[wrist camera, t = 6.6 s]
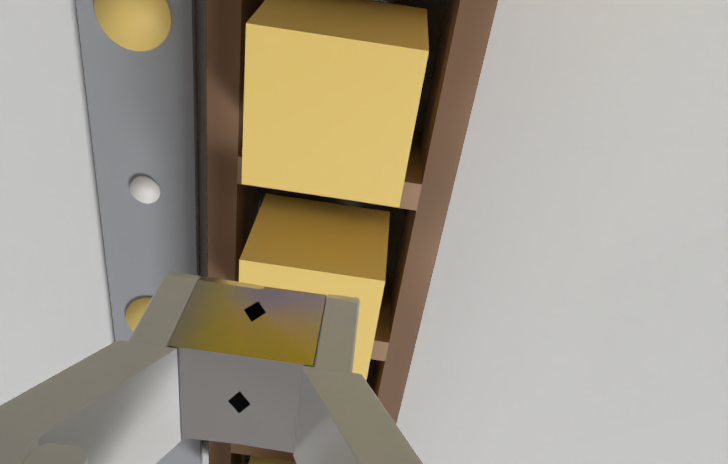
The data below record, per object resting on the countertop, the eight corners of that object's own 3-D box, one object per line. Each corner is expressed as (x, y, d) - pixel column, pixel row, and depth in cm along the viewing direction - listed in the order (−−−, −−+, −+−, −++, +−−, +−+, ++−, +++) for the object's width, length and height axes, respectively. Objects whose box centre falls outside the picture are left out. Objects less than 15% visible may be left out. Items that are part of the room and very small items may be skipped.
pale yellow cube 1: (426, 9, 18) (429, 51, 15) (401, 145, 21) (399, 207, 18) (277, -15, 18) (245, 22, 15) (269, 125, 21) (241, 184, 17)
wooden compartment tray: (492, -65, 20) (508, -41, 17) (368, 489, 36) (363, 558, 33) (240, -104, 20) (205, -88, 17) (228, 469, 36) (209, 536, 32)
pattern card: (193, -111, 20) (188, -110, 19) (202, 465, 36) (199, 474, 35) (66, -131, 20) (58, -130, 19) (131, 455, 36) (128, 464, 35)
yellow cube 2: (389, 211, 22) (385, 281, 19) (372, 307, 25) (365, 383, 21) (266, 193, 22) (239, 259, 19) (260, 290, 25) (236, 364, 21)
